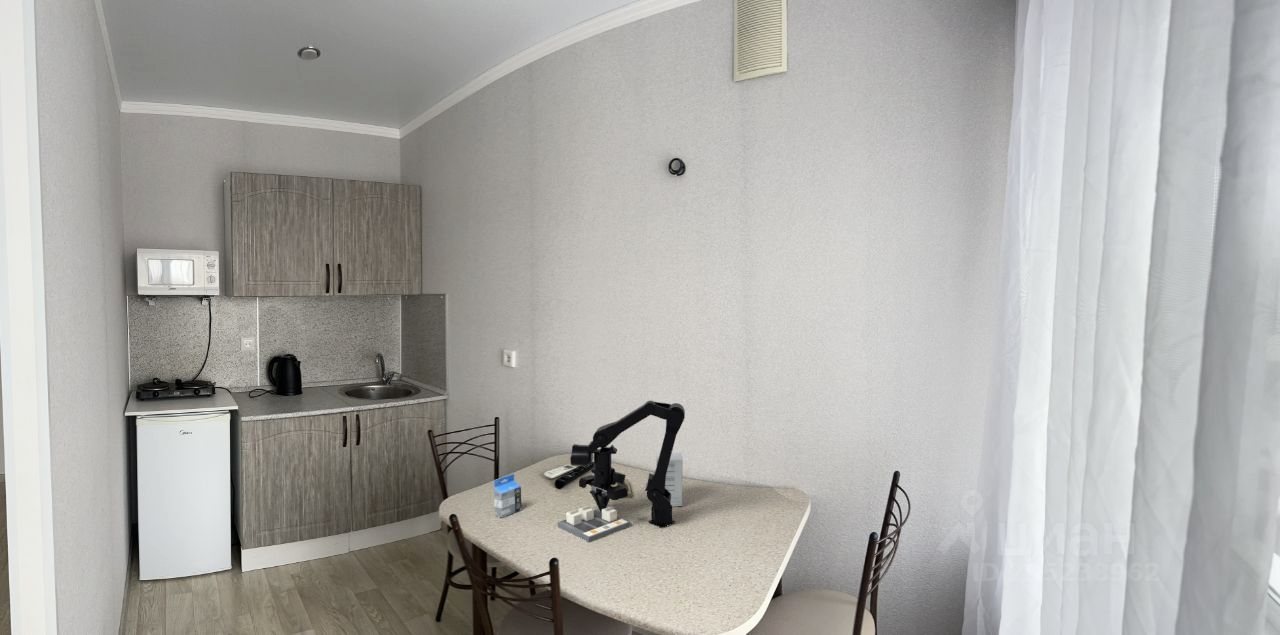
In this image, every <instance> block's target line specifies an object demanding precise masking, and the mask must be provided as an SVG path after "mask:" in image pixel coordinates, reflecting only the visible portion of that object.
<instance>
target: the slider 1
mask: <svg viewBox="0 0 1280 635" xmlns="http://www.w3.org/2000/svg"><path fill="white" fill-rule="evenodd" d="M565 520H566V522H568V523H570V524H572V525H577V524H580V523H582V514H581V513H579V508H578V509H573V510H570V511H567V512H566V519H565Z"/></svg>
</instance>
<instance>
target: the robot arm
mask: <svg viewBox="0 0 1280 635" xmlns="http://www.w3.org/2000/svg"><path fill="white" fill-rule="evenodd" d="M685 413H686V411H685V408H684V406H683V405H682V404H681V403H679V402H678V403H677V402H673V403H672V404H671V403H666V402H659V401H654V400H648V401H646V402H644V404H642V405H641V406H639V407H638V408H636V409H635V410H633V411H631V412H629V413H628V414H626V415H625V416H623V417H621V418H620V419H618V420H616V421H613V422H610V423H607V424H604V425H601V426H600V427H598V428H597V429H596V431H595V432H594V434H593V436H592V440H591V441H590V442H589V444H578V443H577V444H572V447H571V453H570V454H571V455H570V457H569V458H570V460H569V462H570V465H571V466H574V467H575V466H577V467H589V466H590V464H592V463H593V468H592V469H591V471H590V472H591V473H592V474H593V475H592V474H590V475H586V476H582V477H580V479H579V481H578V487H580V488H582V489H586V487H587V485H589V486H590V488H591V489H590V491H589V493H590V494H591V496H592V498H593V499H594V502H595V503H596V505H597V507H598V508H599V510H600V512H601V513H602V509H605V508H608V505H609V502H610V500H612V501H617V500H621V498H624V497H627V496H628V490H627V489H626V488H625V487H622V486H619V485H618V486H615V487H613V486H611V485H615V484H616V483H621V484H624V480H625V479H626V474H625V473H621V472H618V471H616V469H615V468H613V467H612V455H616V454H617V453H618V449H617V448H616V447H615V446H614V444H611V443H612V442H613V441H615V439H616V438H618V437H619V436H620V435H621V433H624V432H626V431H627V430H628V429H630V428H632V427H633V426H636V425H637V424H638V423H640V422H641V421H643V420H645V419H647V418H648V417H649V416H653V417H657V418H659V419H662V420H665V433H664V437H663V440H662V444H661V449H660V452H659V453H660V455H659V459H658V463H657V465H656V467H655V470H654V472H653V474H652V473H651V472H649V473H648V478H647V482H646V485H645V489H644V491H645V492H646V498H647V499H648V500H649V502H650V503H651V508H650V509H651V510H650V511H651V512H650V513H651V516H650V517H651V518H650V519H649V520H648V524H652V525H653V524H654V526H656V525H657V526H656V527H658V526H659V527H658V528H661V527H664V528H666V527H668V526H667V525H669V526H671V525H673V524H672V523H674V522H675V523H676V520H674V519H673V507H672V505H671V493H670V492H669V491H668V490H667V489H666V488H665V483H666V473H667V469H668V465H669V461H670V457H671V454H672V453H673V450H674V445H675V442H676V438H677V435H678V433H679V431H680V429H681V427H682V425H683V423H684V421H685V417H686V416H685ZM610 444H611V445H610ZM609 445H610V446H609ZM624 499H625V498H624ZM598 508H597V509H598ZM675 523H674V524H675ZM670 524H671V525H670ZM665 526H666V527H665Z"/></svg>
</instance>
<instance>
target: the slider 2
mask: <svg viewBox="0 0 1280 635" xmlns="http://www.w3.org/2000/svg"><path fill="white" fill-rule="evenodd" d="M617 517H618V510H617V509H614V506H612V505H610V506H607V508H605V509H602V519H604V520H606V521H609V522H611V521H614V520H617Z"/></svg>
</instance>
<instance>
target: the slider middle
mask: <svg viewBox="0 0 1280 635" xmlns="http://www.w3.org/2000/svg"><path fill="white" fill-rule="evenodd" d="M594 510H595V509H594V508H591V505H590V504H587V505H585V506H582V507H580V508H578V512H579V513H581V514H582V519H583V520H585V521H588V520H591V519H594Z"/></svg>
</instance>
